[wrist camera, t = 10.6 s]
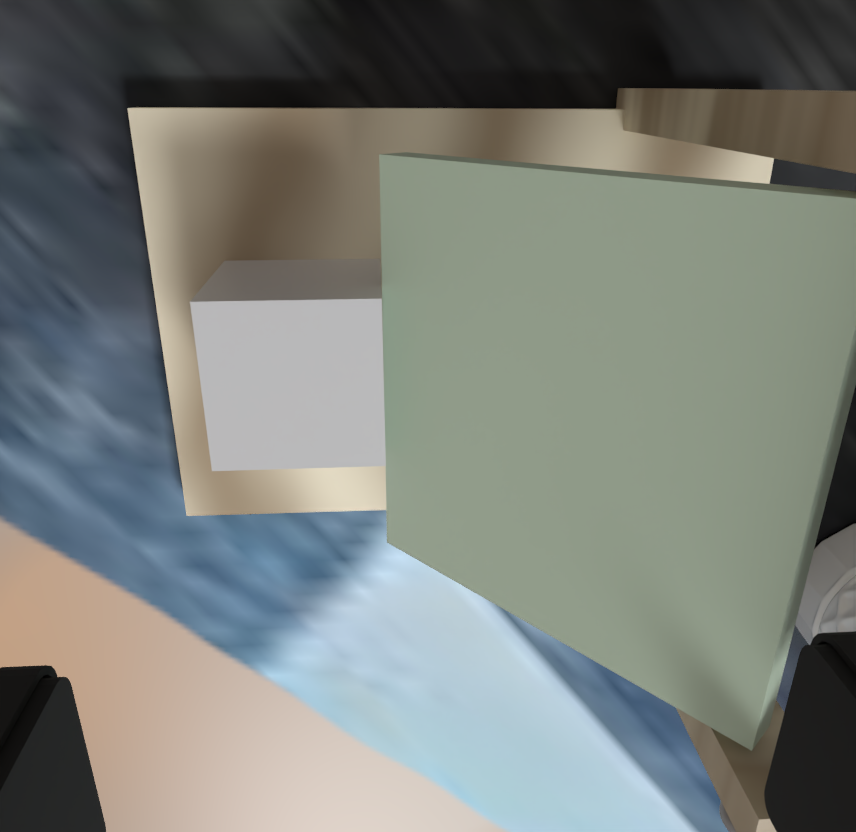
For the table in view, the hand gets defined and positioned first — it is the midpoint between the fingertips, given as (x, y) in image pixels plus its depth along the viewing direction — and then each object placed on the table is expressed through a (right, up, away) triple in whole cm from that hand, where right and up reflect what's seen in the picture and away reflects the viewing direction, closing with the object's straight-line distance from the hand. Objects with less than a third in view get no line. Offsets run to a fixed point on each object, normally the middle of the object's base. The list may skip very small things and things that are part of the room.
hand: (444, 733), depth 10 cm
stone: (-2, +6, +13) cm, 15 cm away
